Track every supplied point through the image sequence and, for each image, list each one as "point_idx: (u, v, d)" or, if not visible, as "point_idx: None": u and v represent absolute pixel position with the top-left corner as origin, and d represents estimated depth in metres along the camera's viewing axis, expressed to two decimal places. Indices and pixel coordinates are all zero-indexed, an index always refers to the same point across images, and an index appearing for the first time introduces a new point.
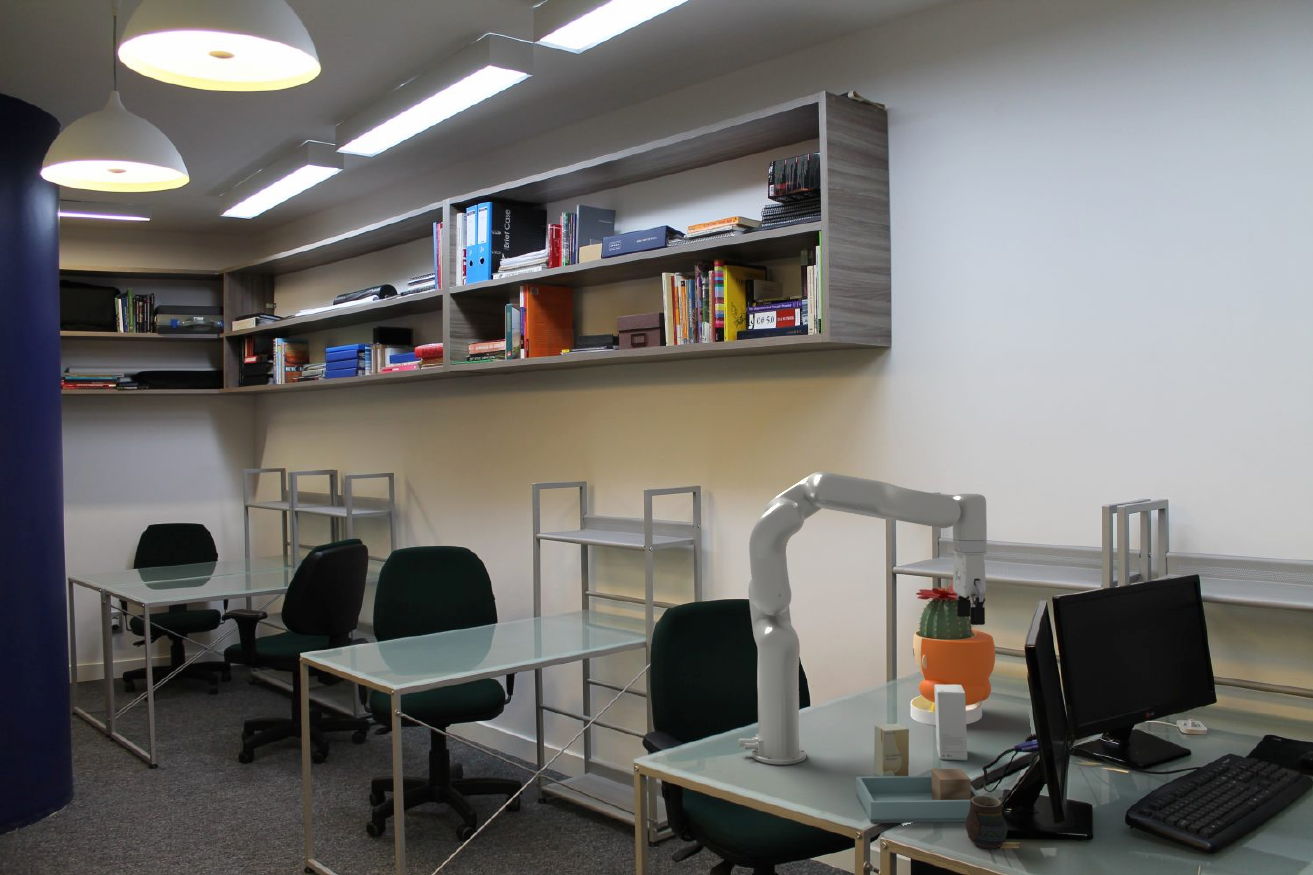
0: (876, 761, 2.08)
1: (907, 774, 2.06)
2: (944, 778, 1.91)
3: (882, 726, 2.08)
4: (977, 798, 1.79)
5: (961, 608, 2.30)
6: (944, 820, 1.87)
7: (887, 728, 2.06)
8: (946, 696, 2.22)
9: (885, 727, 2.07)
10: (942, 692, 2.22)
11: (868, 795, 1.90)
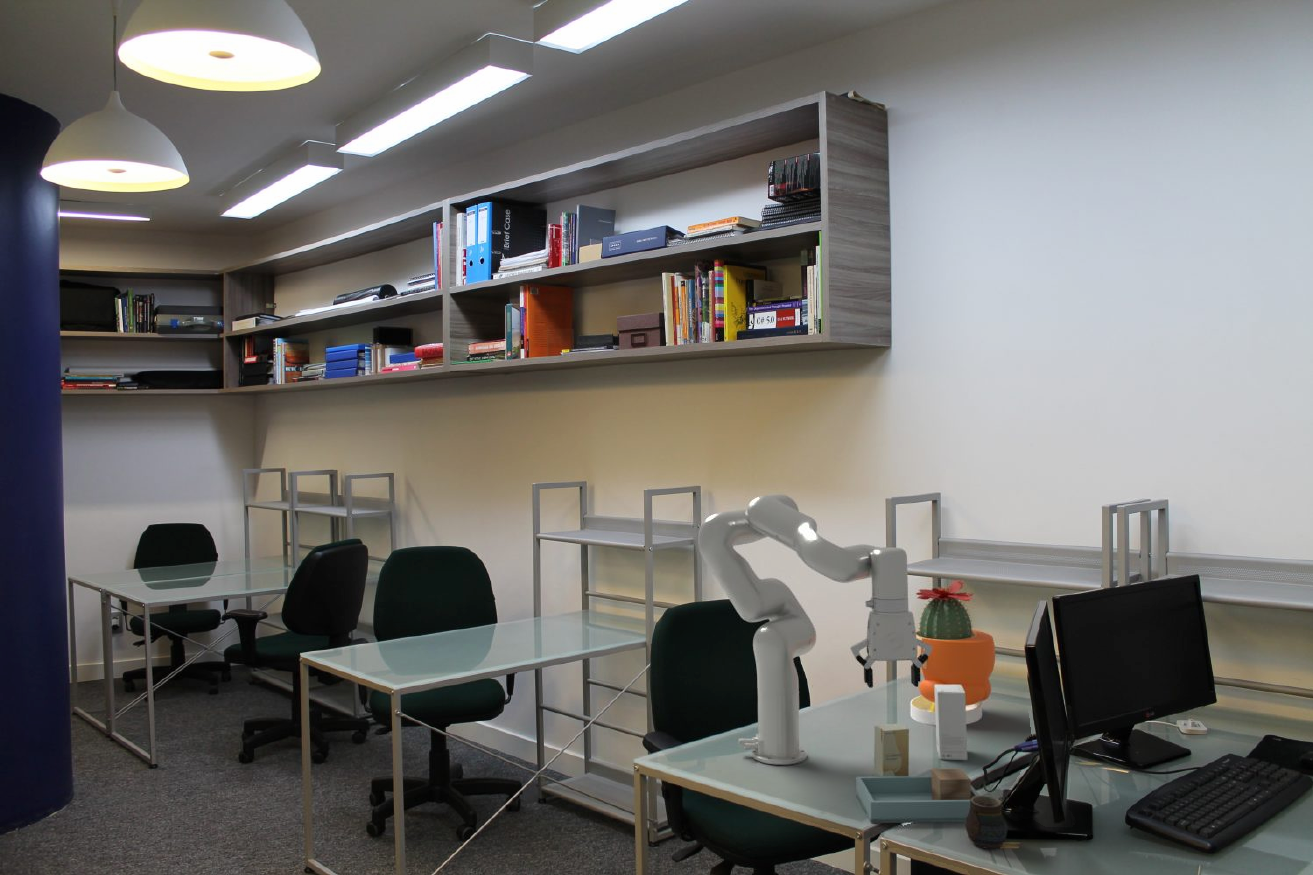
0: (876, 761, 2.08)
1: (907, 774, 2.06)
2: (944, 778, 1.91)
3: (882, 726, 2.08)
4: (977, 798, 1.79)
5: None
6: (944, 820, 1.87)
7: (887, 728, 2.06)
8: (946, 696, 2.22)
9: (885, 727, 2.07)
10: (942, 692, 2.22)
11: (868, 795, 1.90)
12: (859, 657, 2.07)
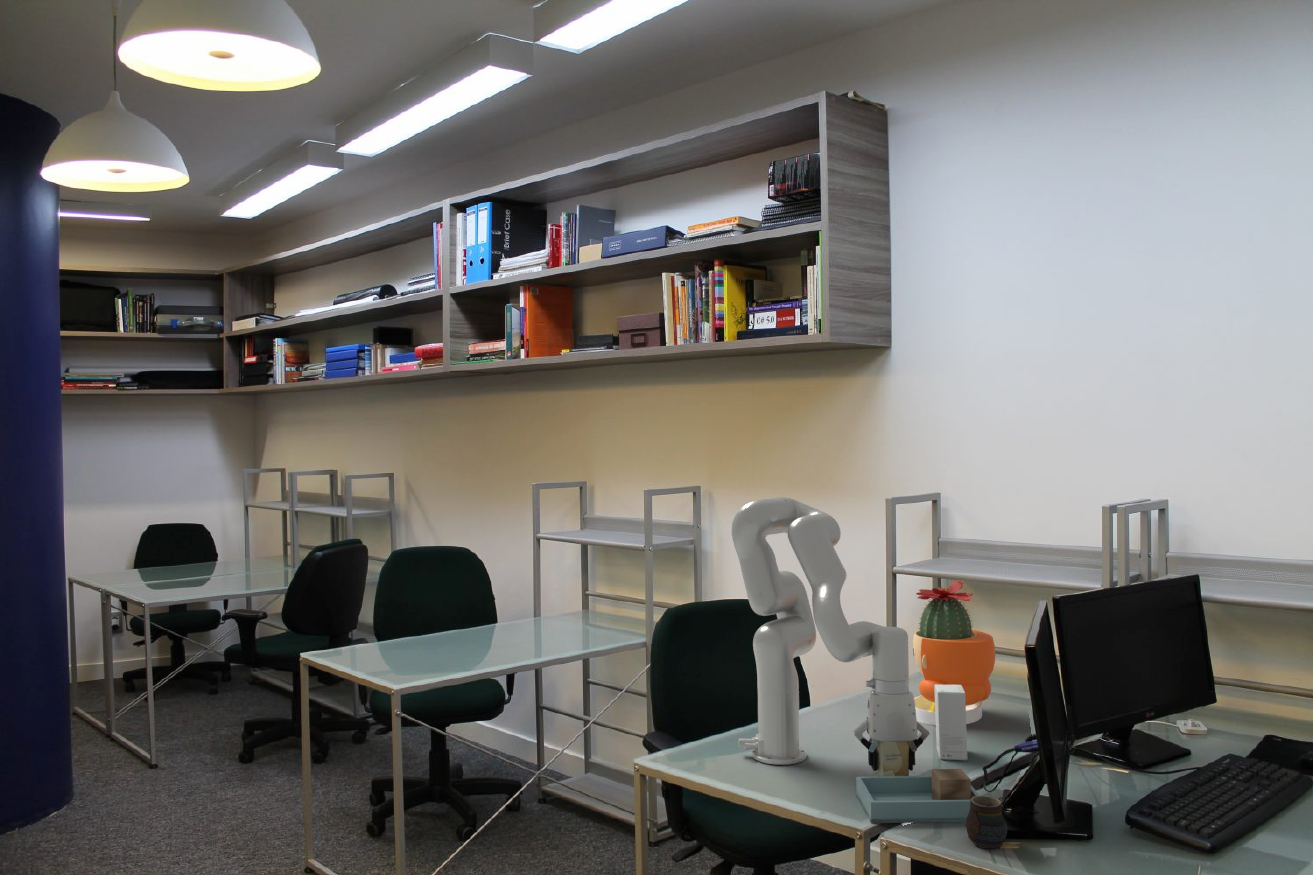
0: None
1: (907, 774, 2.06)
2: (944, 778, 1.91)
3: None
4: (977, 798, 1.79)
5: None
6: (944, 820, 1.87)
7: None
8: (946, 696, 2.22)
9: None
10: (942, 692, 2.22)
11: (868, 795, 1.90)
12: (864, 740, 2.07)
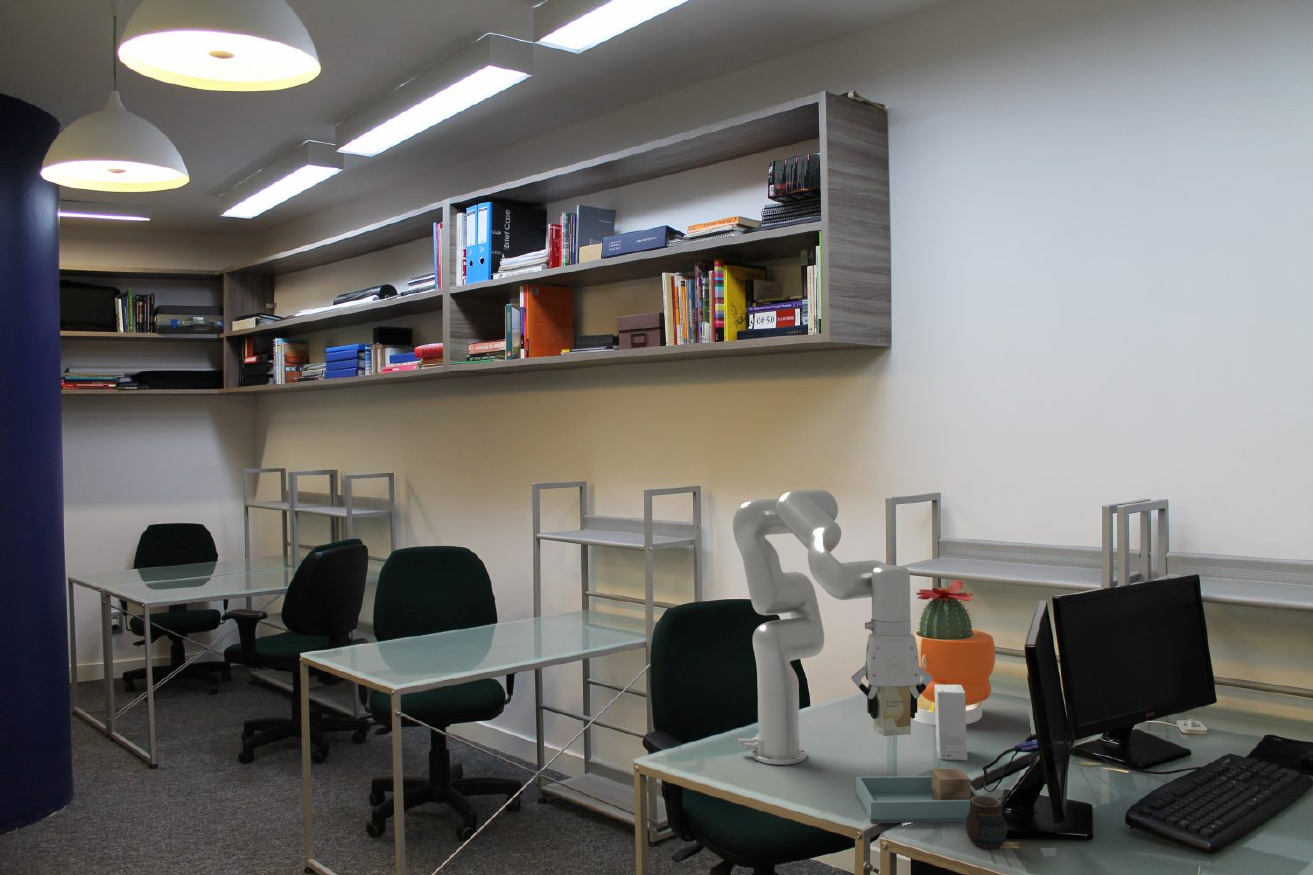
0: None
1: (909, 722, 1.92)
2: (944, 778, 1.91)
3: None
4: (977, 798, 1.79)
5: None
6: (944, 820, 1.87)
7: None
8: (946, 696, 2.22)
9: None
10: (942, 692, 2.22)
11: (868, 795, 1.90)
12: (862, 686, 1.93)
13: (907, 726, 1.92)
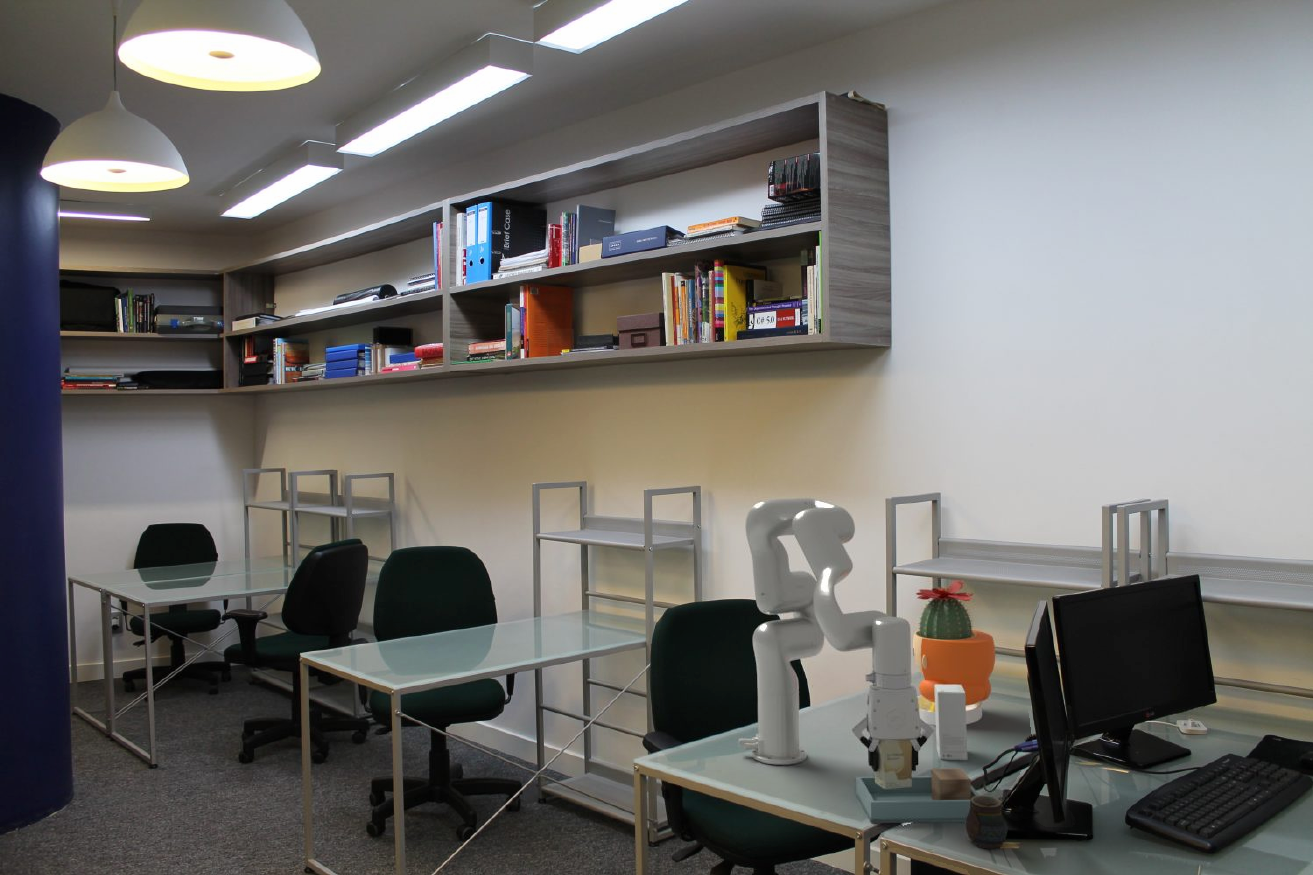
0: None
1: (910, 775, 1.92)
2: (944, 778, 1.91)
3: None
4: (977, 798, 1.79)
5: None
6: (944, 820, 1.87)
7: None
8: (946, 696, 2.22)
9: None
10: (942, 692, 2.22)
11: (868, 795, 1.90)
12: (863, 738, 1.93)
13: (908, 779, 1.92)
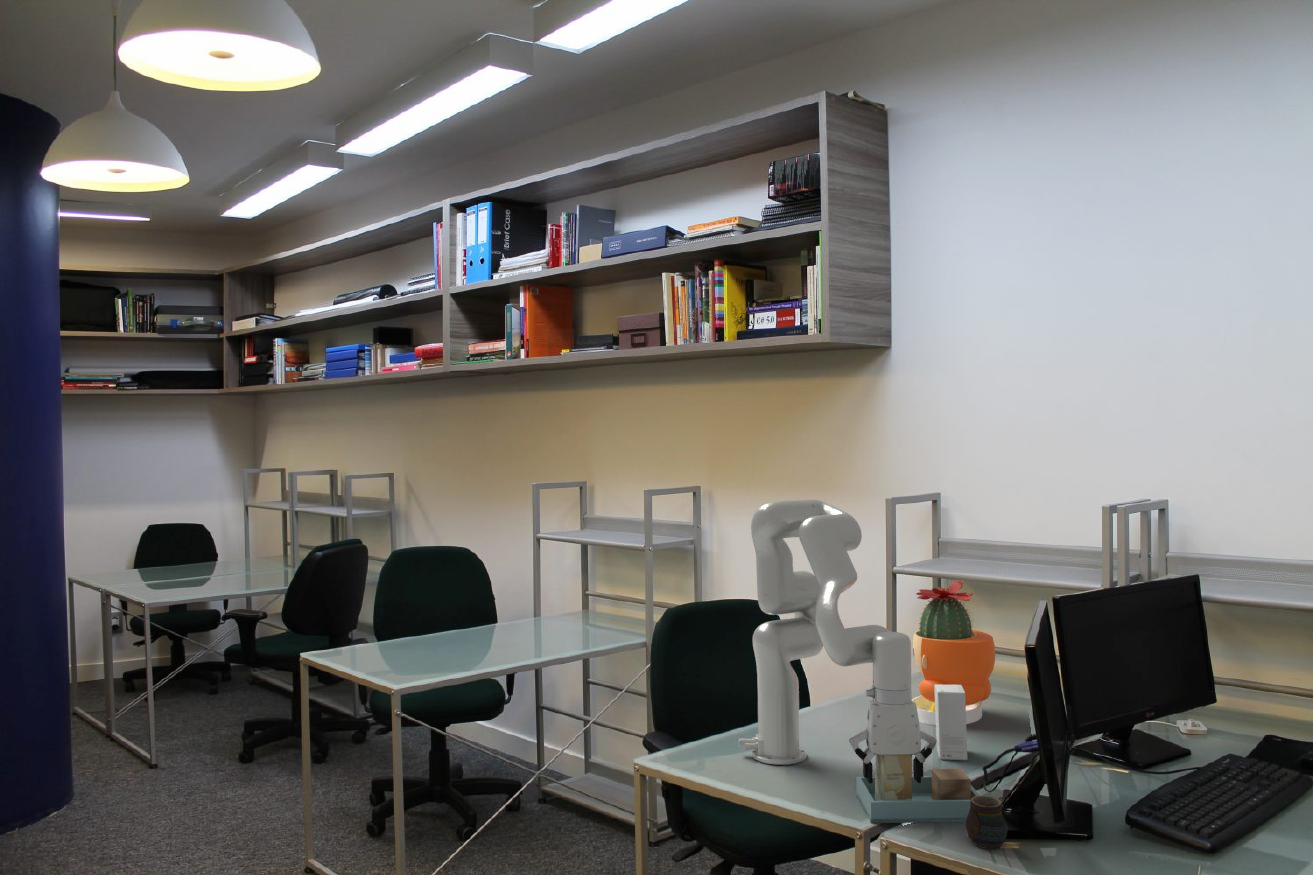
0: (877, 780, 1.94)
1: (910, 795, 1.92)
2: (944, 778, 1.91)
3: None
4: (977, 798, 1.79)
5: None
6: (944, 820, 1.87)
7: None
8: (946, 696, 2.22)
9: None
10: (942, 692, 2.22)
11: (868, 795, 1.90)
12: (858, 750, 1.93)
13: (908, 798, 1.92)
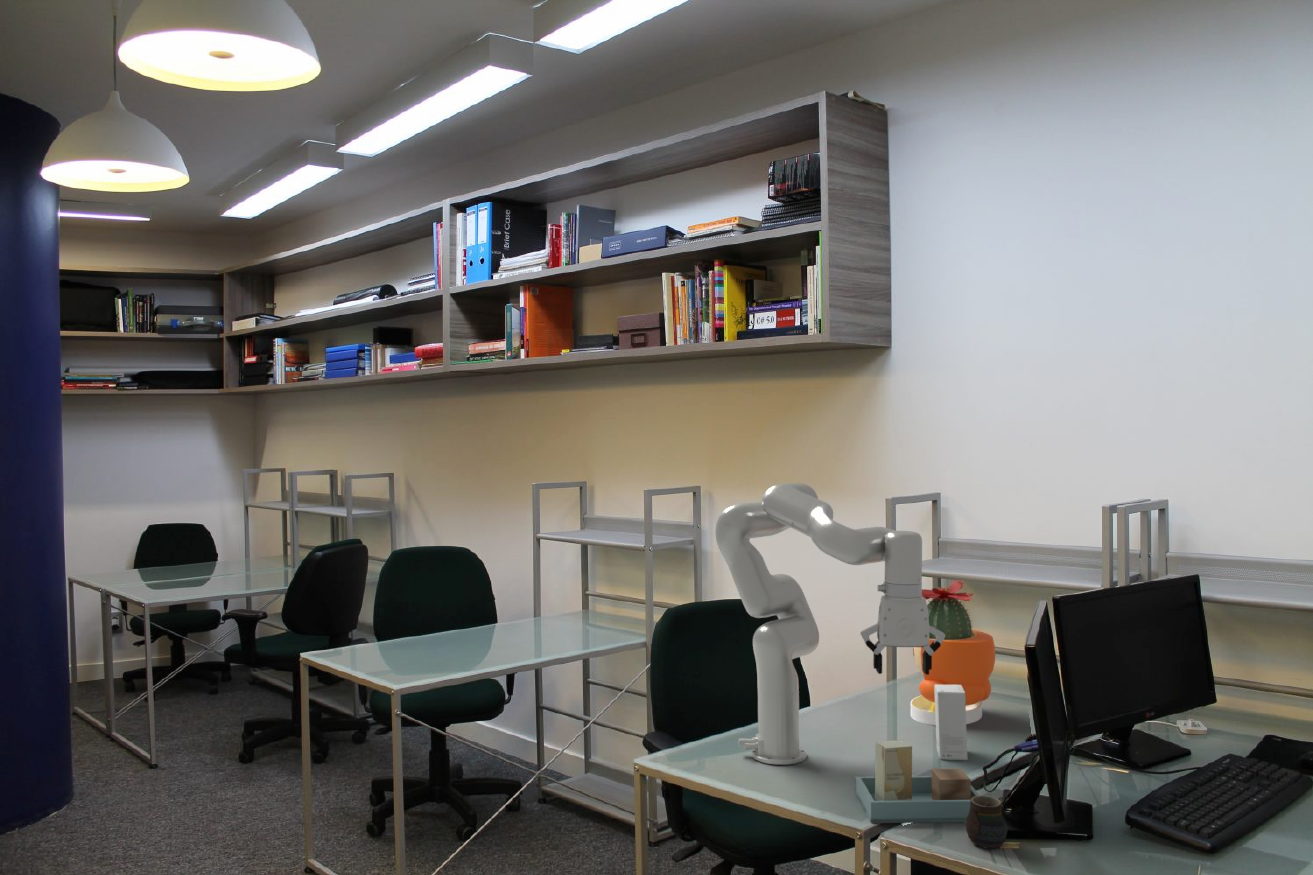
0: (877, 780, 1.94)
1: (910, 795, 1.92)
2: (944, 778, 1.91)
3: (883, 743, 1.94)
4: (977, 798, 1.79)
5: None
6: (944, 820, 1.87)
7: (888, 746, 1.92)
8: (946, 696, 2.22)
9: (886, 745, 1.93)
10: (942, 692, 2.22)
11: (868, 795, 1.90)
12: (869, 642, 2.01)
13: (908, 798, 1.92)
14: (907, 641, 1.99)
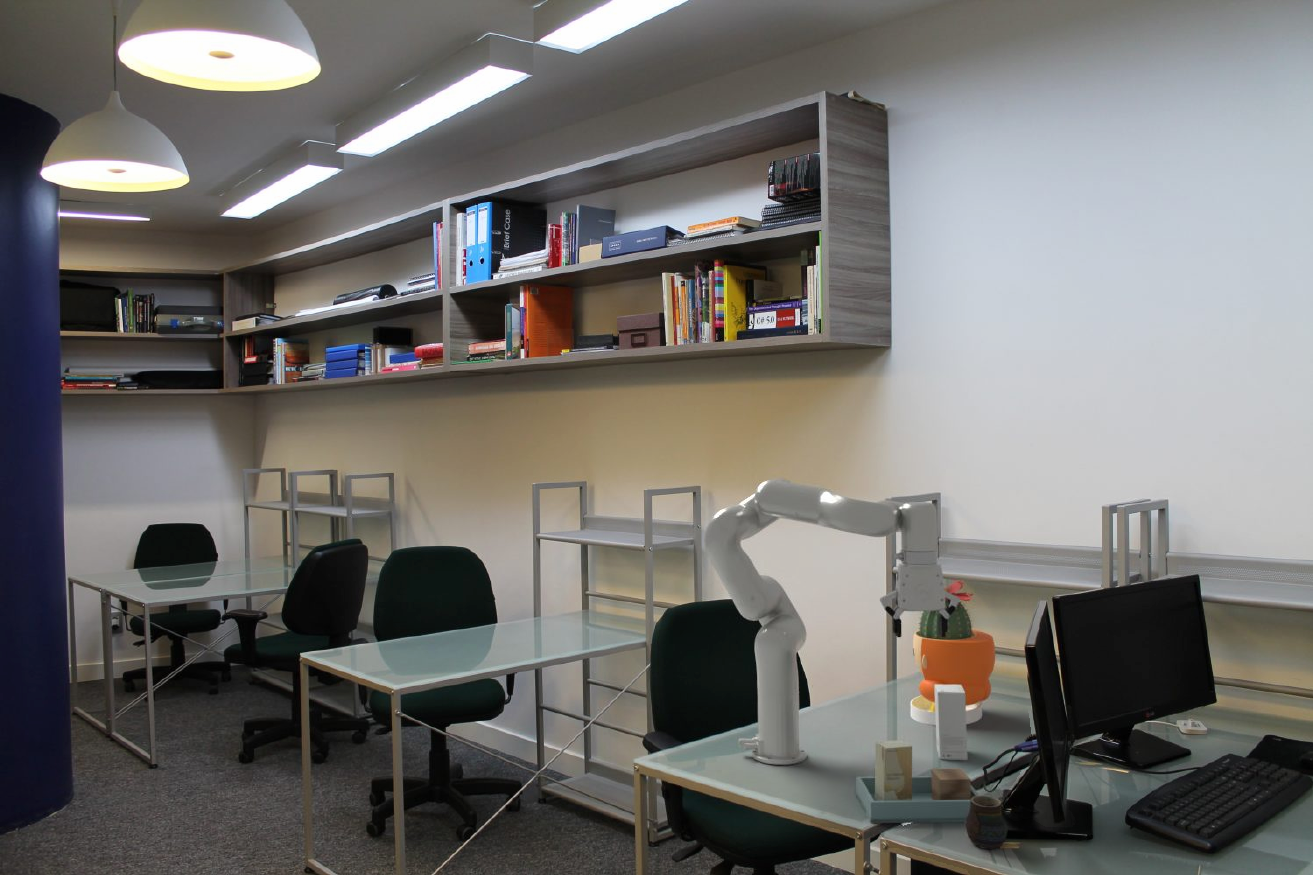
0: (877, 780, 1.94)
1: (910, 795, 1.92)
2: (944, 778, 1.91)
3: (883, 743, 1.94)
4: (977, 798, 1.79)
5: None
6: (944, 820, 1.87)
7: (888, 746, 1.92)
8: (946, 696, 2.22)
9: (886, 745, 1.93)
10: (942, 692, 2.22)
11: (868, 795, 1.90)
12: (888, 608, 2.13)
13: (908, 798, 1.92)
14: (925, 605, 2.11)
